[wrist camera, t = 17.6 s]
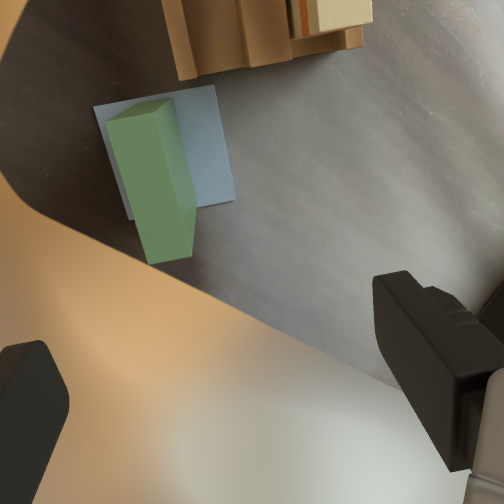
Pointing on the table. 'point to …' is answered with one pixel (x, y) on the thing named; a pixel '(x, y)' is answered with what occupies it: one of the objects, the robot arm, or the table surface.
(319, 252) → the table surface
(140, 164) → the green book
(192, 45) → the book rack
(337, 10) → the cream book
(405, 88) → the table surface
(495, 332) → the magazine
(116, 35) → the table surface
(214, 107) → the felt pad
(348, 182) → the table surface
